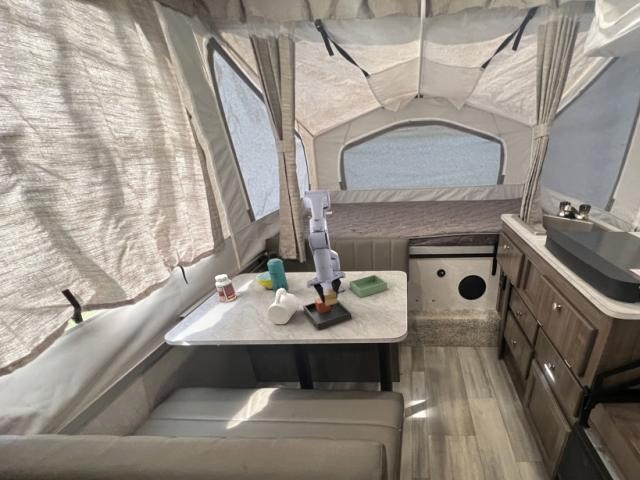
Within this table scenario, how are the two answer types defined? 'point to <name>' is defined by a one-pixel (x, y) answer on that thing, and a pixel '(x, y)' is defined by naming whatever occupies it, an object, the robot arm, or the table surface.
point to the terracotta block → (321, 306)
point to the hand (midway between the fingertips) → (329, 299)
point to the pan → (327, 315)
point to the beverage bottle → (277, 272)
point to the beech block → (330, 297)
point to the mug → (283, 307)
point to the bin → (368, 285)
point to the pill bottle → (225, 288)
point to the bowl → (265, 280)
